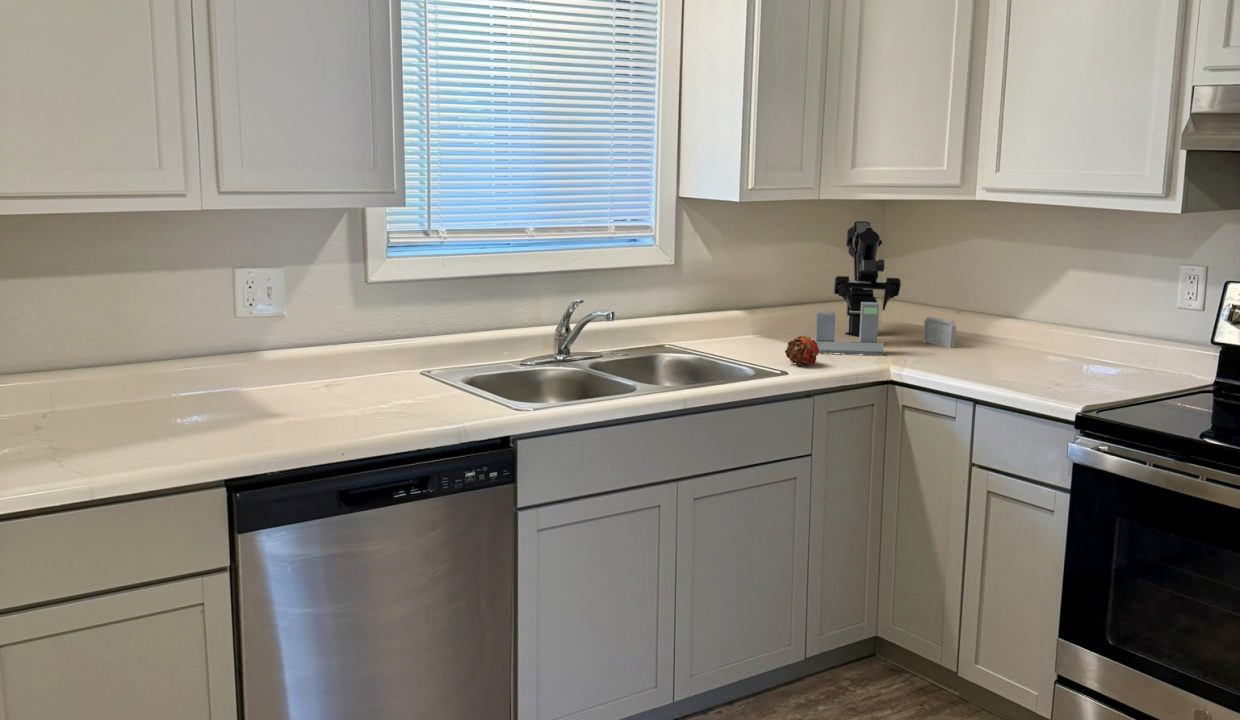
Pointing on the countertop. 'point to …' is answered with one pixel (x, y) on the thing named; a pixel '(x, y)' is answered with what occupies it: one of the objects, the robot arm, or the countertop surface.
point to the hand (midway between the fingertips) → (867, 309)
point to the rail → (827, 344)
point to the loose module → (869, 322)
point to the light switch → (939, 332)
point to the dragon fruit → (802, 350)
